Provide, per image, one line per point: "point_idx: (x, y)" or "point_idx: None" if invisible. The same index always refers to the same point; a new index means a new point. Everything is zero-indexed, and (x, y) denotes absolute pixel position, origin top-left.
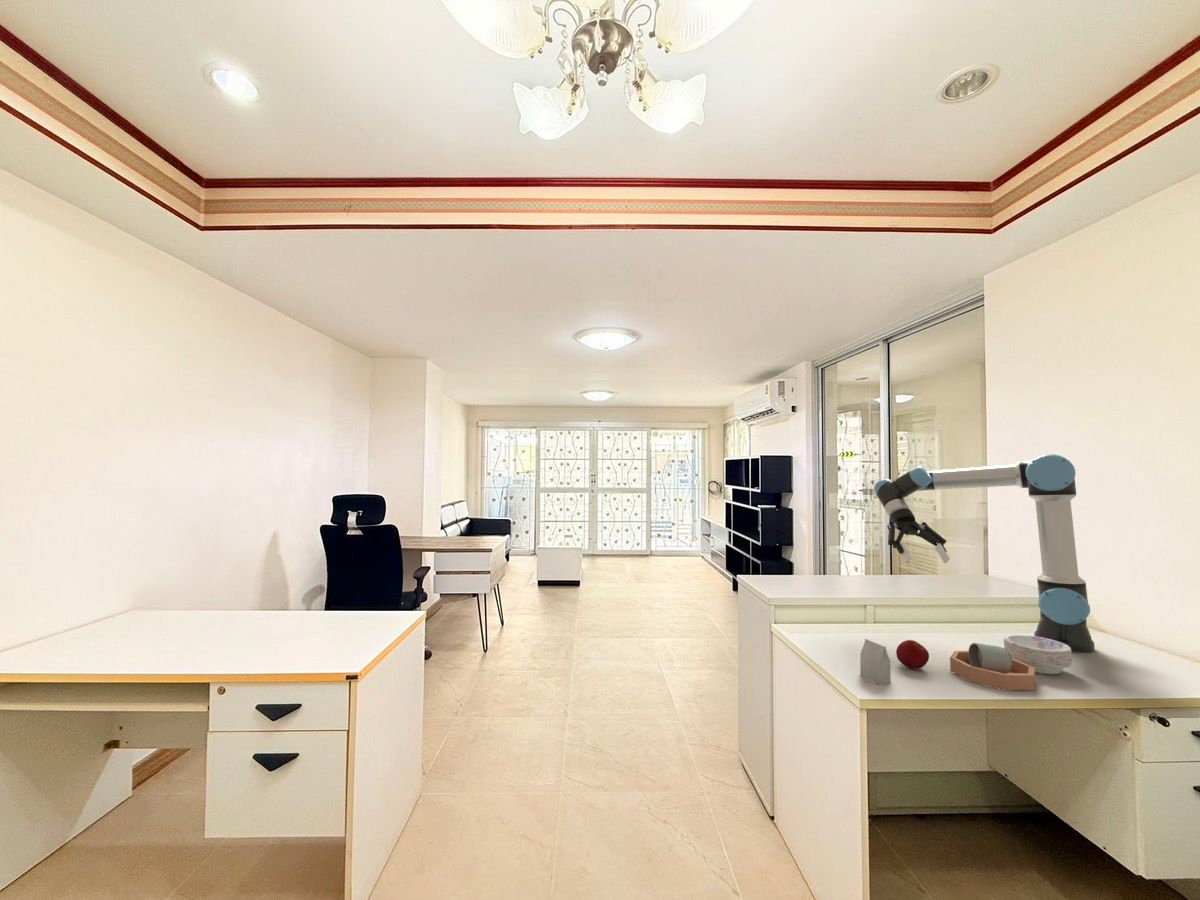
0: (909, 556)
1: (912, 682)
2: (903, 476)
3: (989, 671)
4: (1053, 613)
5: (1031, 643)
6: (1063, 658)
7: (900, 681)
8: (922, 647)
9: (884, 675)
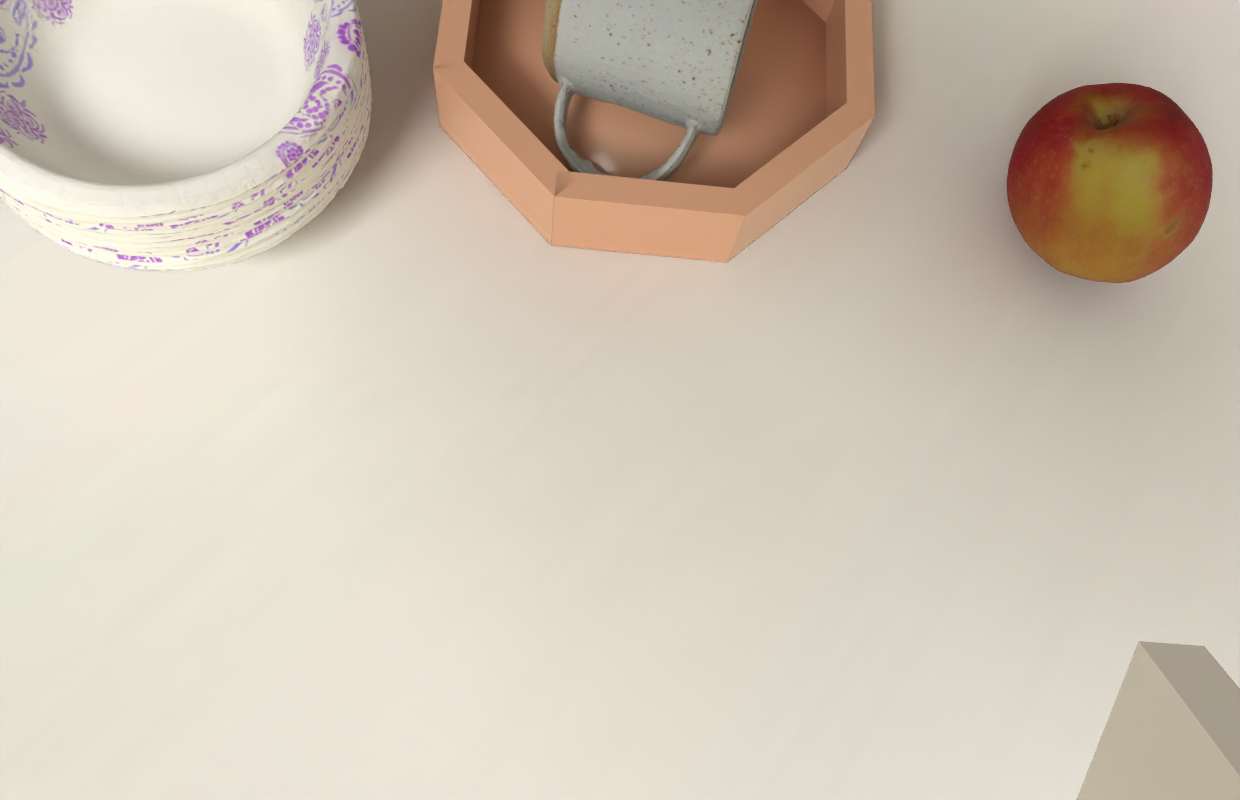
0: (1214, 680)
1: (1176, 63)
2: None
3: None
4: None
5: (50, 161)
6: None
7: (1235, 80)
8: (1085, 112)
9: None
